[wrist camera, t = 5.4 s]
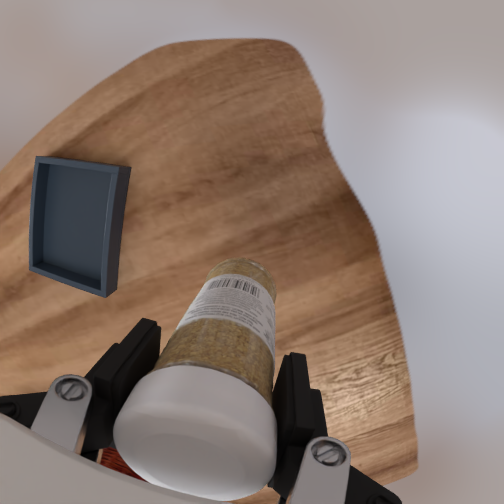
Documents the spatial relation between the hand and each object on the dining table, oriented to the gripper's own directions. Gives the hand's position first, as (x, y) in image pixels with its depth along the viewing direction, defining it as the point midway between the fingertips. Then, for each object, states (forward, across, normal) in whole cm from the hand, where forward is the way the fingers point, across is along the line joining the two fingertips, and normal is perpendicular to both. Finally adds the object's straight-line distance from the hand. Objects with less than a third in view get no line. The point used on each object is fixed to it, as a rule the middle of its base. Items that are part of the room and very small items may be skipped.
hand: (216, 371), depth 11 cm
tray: (+24, +23, +2) cm, 33 cm away
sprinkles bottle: (+9, 0, 0) cm, 9 cm away
